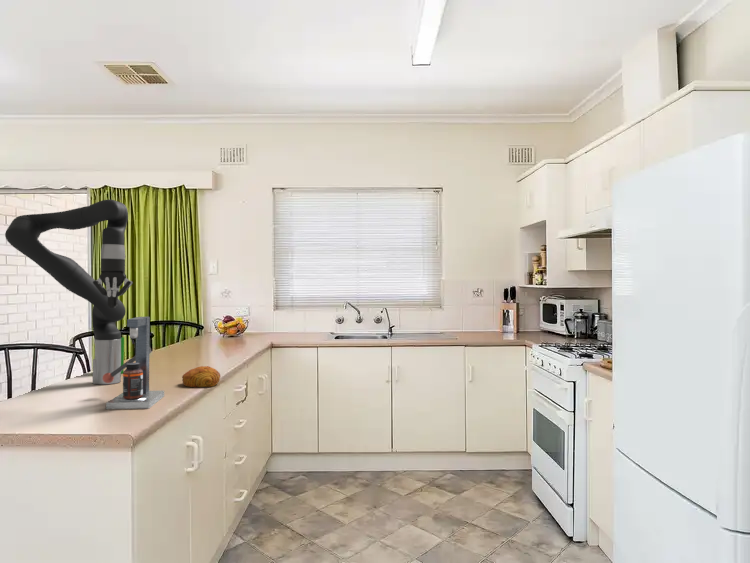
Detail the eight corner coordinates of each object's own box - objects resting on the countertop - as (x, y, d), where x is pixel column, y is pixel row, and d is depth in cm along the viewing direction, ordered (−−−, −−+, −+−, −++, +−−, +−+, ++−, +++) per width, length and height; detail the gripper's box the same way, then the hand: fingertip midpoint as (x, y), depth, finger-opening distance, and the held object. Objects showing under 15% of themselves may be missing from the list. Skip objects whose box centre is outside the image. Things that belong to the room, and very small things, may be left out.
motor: (129, 372, 236) (129, 326, 236) (113, 375, 228) (113, 328, 228) (111, 370, 240) (111, 325, 240) (94, 374, 231) (94, 327, 231)
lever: (105, 386, 185) (98, 377, 185) (109, 384, 189) (102, 376, 188) (151, 352, 187) (144, 344, 187) (154, 351, 191) (147, 343, 190)
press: (106, 409, 170) (106, 320, 169) (125, 396, 187) (126, 316, 187) (149, 408, 171) (149, 320, 171) (164, 396, 189) (164, 316, 189)
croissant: (219, 385, 220) (220, 365, 222) (220, 387, 206) (221, 366, 207) (182, 386, 216) (183, 366, 217) (180, 388, 202) (181, 366, 203)
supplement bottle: (146, 397, 177) (147, 362, 177) (131, 400, 172) (132, 365, 172) (133, 395, 180) (134, 361, 180) (118, 398, 174) (118, 363, 174)
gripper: (88, 257, 183) (88, 308, 183) (129, 257, 184) (129, 308, 184) (97, 258, 190) (96, 307, 190) (136, 258, 192) (136, 307, 192)
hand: (112, 307), depth 187 cm, fingers closed
